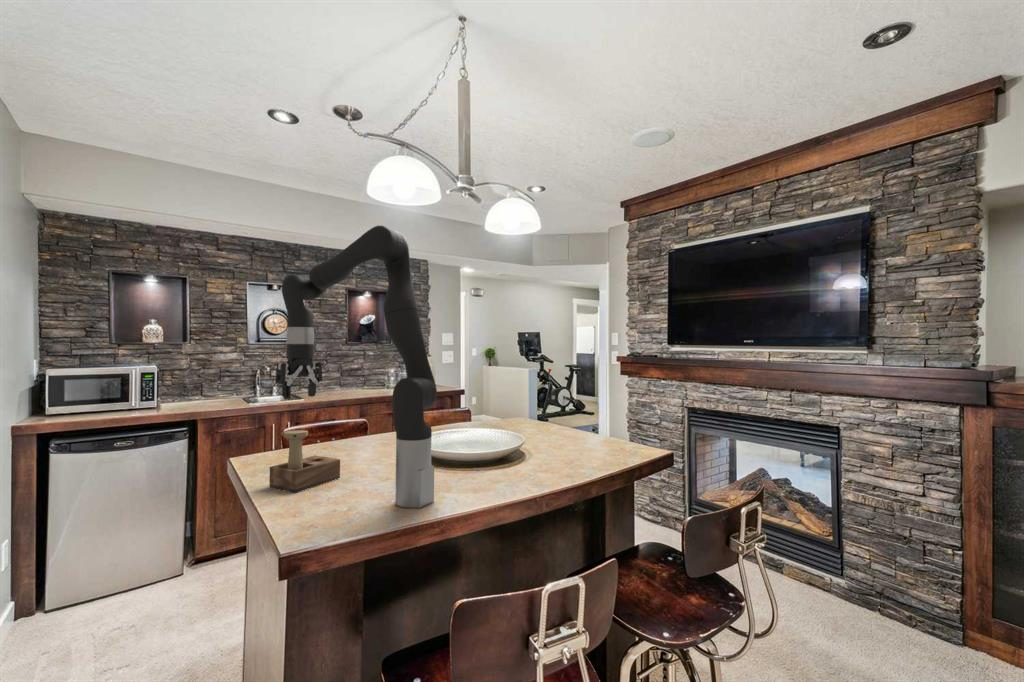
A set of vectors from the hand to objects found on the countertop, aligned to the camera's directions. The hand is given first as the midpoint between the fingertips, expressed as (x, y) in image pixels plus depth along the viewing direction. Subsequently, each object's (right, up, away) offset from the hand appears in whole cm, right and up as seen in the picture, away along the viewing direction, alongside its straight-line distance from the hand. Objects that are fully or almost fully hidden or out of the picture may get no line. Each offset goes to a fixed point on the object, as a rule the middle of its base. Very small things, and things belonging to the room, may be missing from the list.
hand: (299, 397), depth 133 cm
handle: (-1, -25, -1) cm, 25 cm away
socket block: (+1, -26, +3) cm, 26 cm away
